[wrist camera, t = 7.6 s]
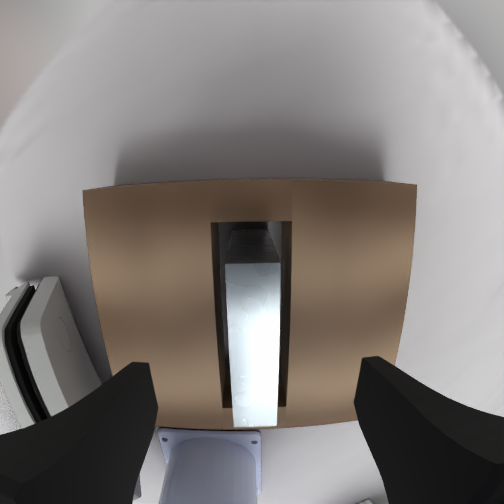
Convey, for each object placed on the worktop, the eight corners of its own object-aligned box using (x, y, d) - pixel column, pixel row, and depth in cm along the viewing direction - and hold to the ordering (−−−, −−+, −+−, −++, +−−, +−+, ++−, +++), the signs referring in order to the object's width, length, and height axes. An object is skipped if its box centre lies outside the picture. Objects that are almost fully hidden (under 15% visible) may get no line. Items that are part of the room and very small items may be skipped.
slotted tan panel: (363, 381, 21) (381, 416, 17) (142, 386, 21) (126, 422, 17) (384, 181, 18) (417, 184, 14) (113, 185, 18) (82, 190, 14)
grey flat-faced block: (267, 351, 20) (276, 425, 14) (236, 352, 20) (234, 427, 14) (267, 229, 19) (280, 262, 12) (232, 229, 18) (224, 264, 12)
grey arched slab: (10, 283, 19) (-49, 335, 10) (62, 267, 20) (20, 315, 11) (92, 449, 23) (93, 532, 14) (137, 439, 24) (151, 524, 15)
